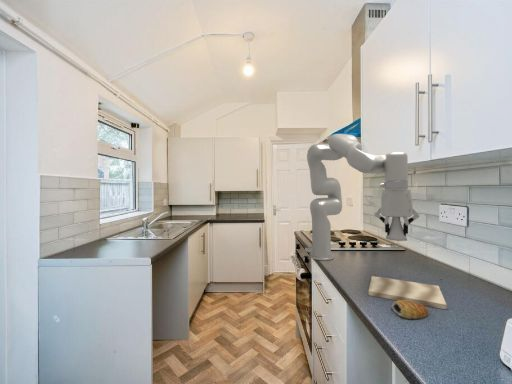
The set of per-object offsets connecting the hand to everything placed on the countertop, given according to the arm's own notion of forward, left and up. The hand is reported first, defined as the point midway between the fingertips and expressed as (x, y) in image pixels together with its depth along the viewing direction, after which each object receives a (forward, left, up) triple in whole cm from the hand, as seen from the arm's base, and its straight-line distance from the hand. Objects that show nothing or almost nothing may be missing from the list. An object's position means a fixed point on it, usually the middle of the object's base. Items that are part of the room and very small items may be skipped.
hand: (396, 234), depth 93 cm
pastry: (+3, -19, -20) cm, 28 cm away
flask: (0, 0, -2) cm, 2 cm away
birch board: (+2, -4, -20) cm, 20 cm away
